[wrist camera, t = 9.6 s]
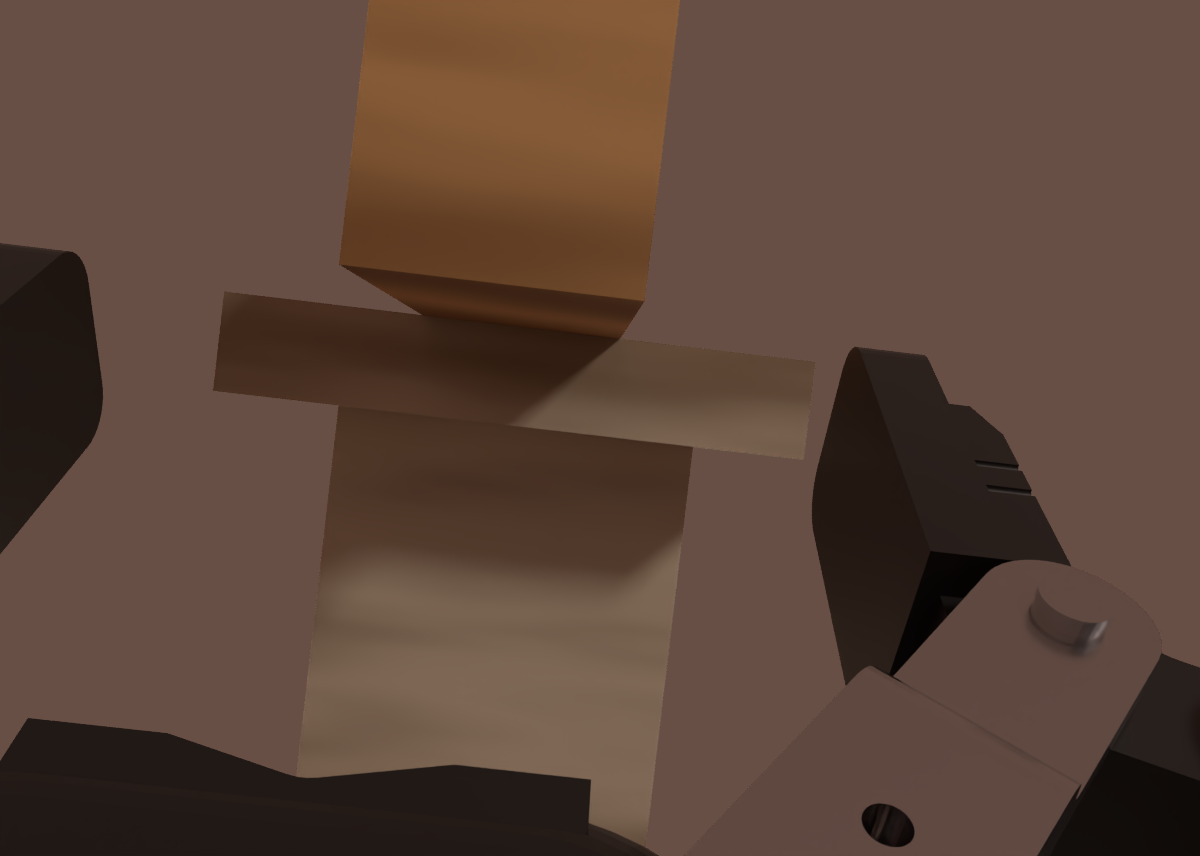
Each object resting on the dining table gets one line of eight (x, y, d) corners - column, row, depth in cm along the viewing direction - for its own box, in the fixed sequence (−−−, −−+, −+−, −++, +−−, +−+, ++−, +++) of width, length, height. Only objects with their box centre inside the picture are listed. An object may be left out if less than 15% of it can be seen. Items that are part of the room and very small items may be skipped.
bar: (644, 301, 15) (680, -5, 15) (339, 264, 15) (374, -44, 14) (604, 362, 35) (619, 233, 35) (475, 347, 34) (491, 218, 34)
